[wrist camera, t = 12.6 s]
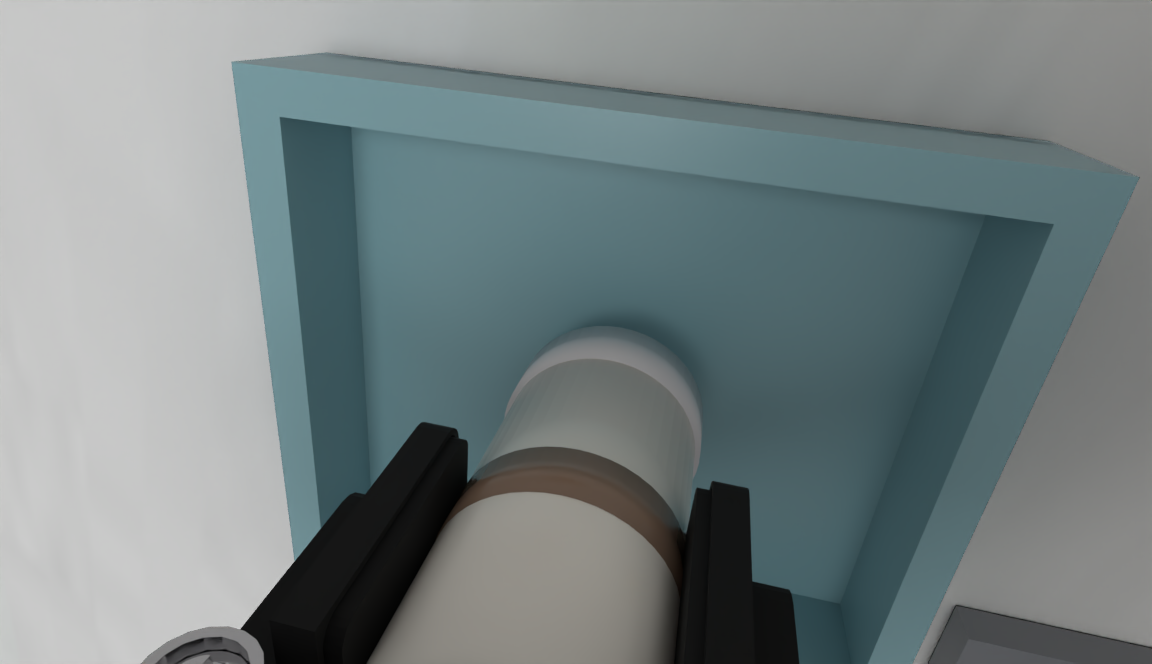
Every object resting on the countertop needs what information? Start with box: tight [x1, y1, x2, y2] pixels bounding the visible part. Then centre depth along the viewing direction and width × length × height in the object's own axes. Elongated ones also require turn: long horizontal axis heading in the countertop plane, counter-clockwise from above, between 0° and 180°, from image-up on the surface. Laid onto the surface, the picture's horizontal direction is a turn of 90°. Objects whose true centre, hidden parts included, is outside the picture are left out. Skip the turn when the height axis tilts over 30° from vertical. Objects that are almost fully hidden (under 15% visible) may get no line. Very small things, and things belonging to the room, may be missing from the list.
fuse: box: [366, 326, 703, 664], centre depth 10 cm, size 4×4×9 cm
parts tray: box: [232, 53, 1140, 664], centre depth 14 cm, size 14×12×3 cm
